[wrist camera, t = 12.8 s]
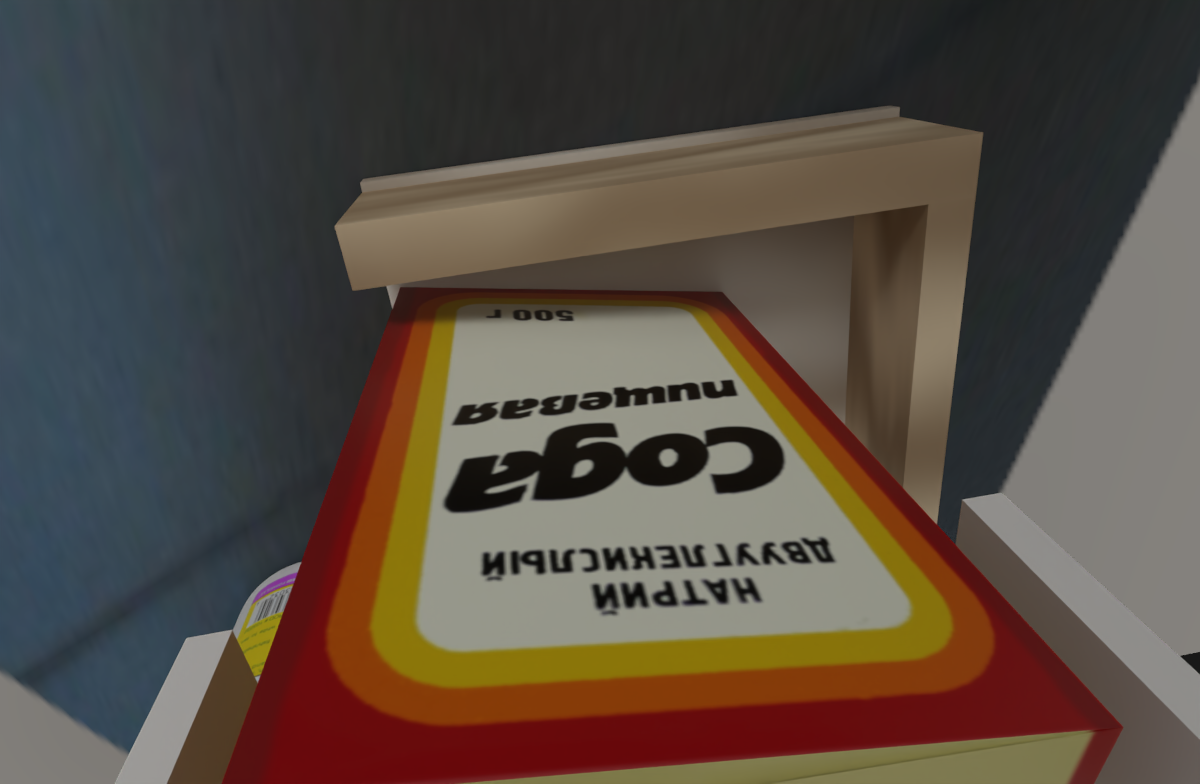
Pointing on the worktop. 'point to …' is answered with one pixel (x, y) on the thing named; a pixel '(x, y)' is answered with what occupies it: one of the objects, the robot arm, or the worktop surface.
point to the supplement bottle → (263, 617)
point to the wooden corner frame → (730, 249)
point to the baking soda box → (636, 576)
